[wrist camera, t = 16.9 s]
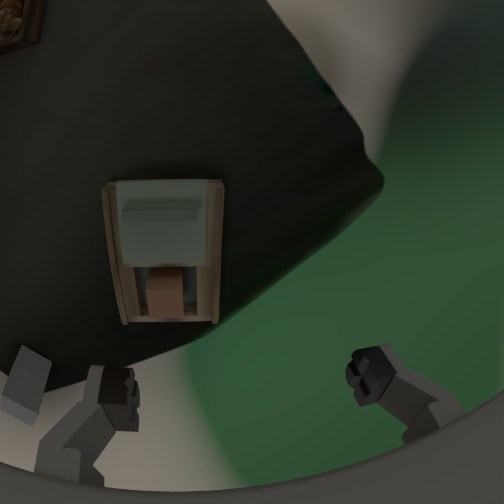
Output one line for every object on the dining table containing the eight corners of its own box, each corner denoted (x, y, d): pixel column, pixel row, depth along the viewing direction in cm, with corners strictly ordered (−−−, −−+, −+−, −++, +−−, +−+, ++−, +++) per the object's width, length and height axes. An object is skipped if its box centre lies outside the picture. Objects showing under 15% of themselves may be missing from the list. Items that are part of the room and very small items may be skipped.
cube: (152, 295, 41) (149, 318, 37) (149, 268, 39) (145, 289, 34) (183, 294, 42) (184, 317, 38) (182, 267, 40) (182, 289, 35)
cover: (124, 260, 35) (120, 274, 32) (117, 180, 30) (110, 189, 27) (204, 259, 37) (206, 273, 34) (206, 179, 32) (208, 187, 29)
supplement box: (16, 361, 44) (-2, 409, 33) (22, 343, 42) (1, 394, 31) (46, 378, 47) (32, 427, 36) (53, 362, 45) (38, 414, 34)
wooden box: (125, 306, 42) (121, 324, 38) (109, 181, 33) (100, 191, 30) (216, 305, 45) (219, 323, 41) (221, 179, 36) (225, 189, 32)
